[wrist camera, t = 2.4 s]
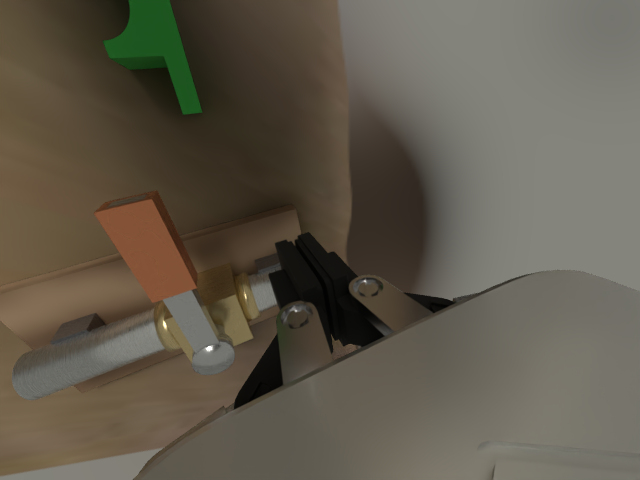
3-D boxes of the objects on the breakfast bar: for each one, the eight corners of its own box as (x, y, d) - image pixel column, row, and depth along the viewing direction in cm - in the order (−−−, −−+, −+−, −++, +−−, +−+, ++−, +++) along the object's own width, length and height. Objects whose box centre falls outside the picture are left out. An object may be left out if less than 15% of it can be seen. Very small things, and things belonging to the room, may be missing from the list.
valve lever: (236, 337, 21) (239, 366, 19) (201, 351, 20) (200, 383, 18) (164, 183, 14) (156, 197, 12) (109, 196, 14) (88, 214, 11)
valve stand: (-8, 288, 19) (-22, 300, 18) (291, 204, 25) (296, 208, 24) (88, 379, 25) (82, 393, 24) (310, 292, 31) (314, 300, 30)
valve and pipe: (29, 327, 20) (-18, 386, 15) (293, 241, 26) (310, 267, 21) (71, 367, 22) (41, 426, 18) (302, 281, 28) (319, 310, 24)
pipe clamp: (56, -118, 13) (-5, -215, 9) (138, -109, 14) (113, -192, 10) (149, 119, 18) (134, 120, 15) (202, 113, 19) (202, 112, 16)
